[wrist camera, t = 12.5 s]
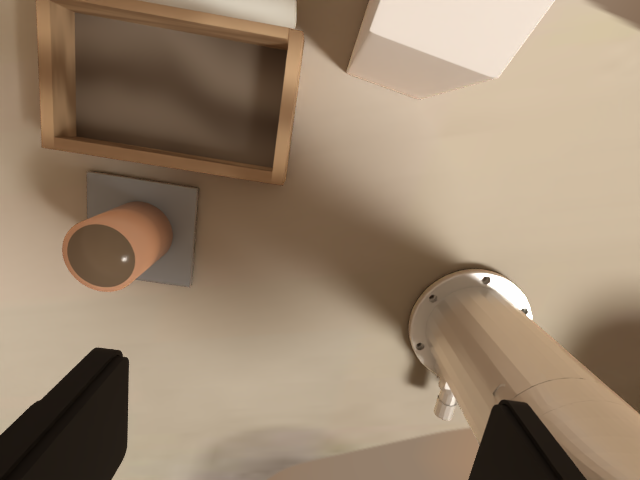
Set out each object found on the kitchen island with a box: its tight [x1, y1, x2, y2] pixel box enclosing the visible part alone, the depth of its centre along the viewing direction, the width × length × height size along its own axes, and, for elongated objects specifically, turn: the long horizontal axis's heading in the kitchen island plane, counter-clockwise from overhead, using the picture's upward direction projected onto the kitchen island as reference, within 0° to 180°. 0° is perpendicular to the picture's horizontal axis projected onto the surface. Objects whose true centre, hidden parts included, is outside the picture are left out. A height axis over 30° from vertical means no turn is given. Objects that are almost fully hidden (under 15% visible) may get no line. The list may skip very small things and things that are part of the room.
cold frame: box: [36, 0, 304, 185], centre depth 25 cm, size 16×20×16 cm
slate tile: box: [87, 171, 199, 287], centre depth 37 cm, size 10×10×1 cm
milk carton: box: [346, 0, 555, 100], centre depth 24 cm, size 7×7×19 cm
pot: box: [62, 201, 173, 292], centre depth 33 cm, size 6×6×7 cm
